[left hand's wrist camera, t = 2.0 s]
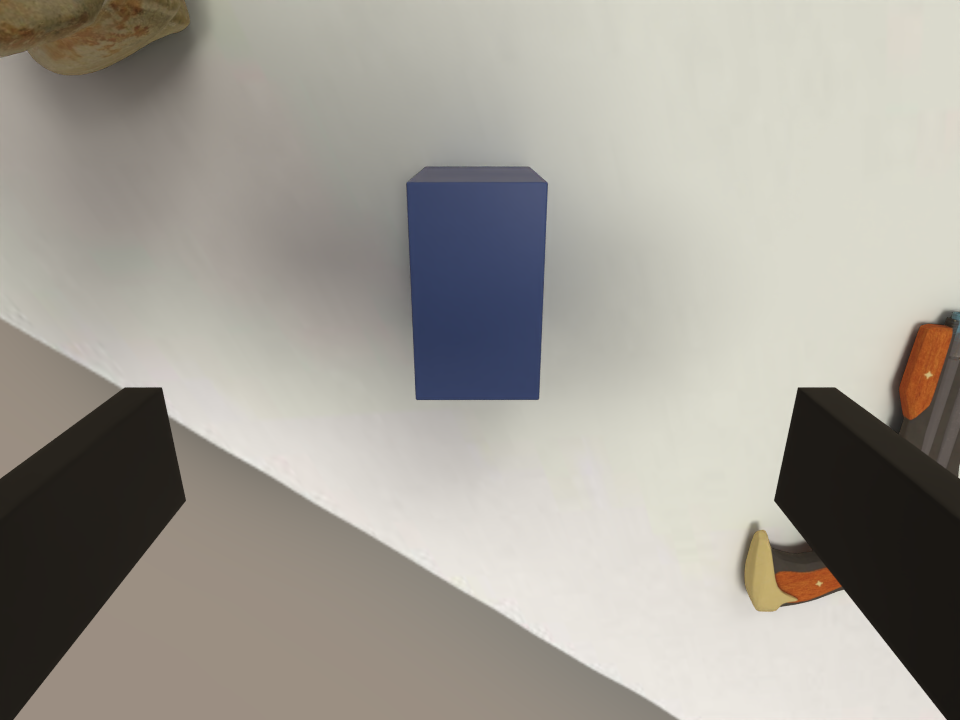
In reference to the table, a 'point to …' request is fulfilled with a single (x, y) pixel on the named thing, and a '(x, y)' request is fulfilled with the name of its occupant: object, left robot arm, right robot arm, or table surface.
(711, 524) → the table surface
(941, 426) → the toy gun
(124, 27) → the sculpture
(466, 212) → the brick
